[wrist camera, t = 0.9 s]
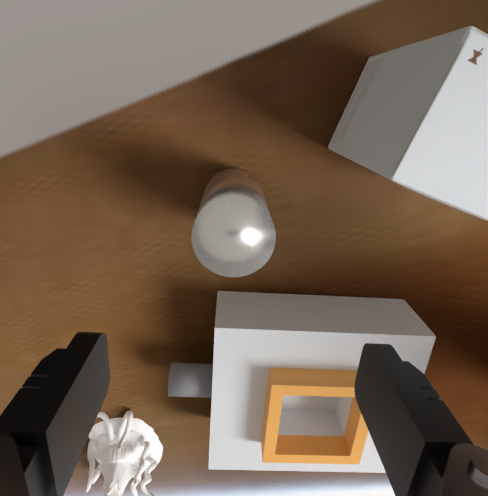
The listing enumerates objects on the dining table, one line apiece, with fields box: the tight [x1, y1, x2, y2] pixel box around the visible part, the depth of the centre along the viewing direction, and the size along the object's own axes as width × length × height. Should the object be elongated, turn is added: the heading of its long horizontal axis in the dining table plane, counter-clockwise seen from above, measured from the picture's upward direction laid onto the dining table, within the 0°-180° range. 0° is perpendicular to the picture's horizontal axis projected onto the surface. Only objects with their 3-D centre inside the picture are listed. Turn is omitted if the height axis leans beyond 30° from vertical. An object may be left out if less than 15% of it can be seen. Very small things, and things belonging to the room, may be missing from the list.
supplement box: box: [328, 26, 488, 221], centre depth 23 cm, size 7×7×13 cm
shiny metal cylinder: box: [191, 168, 276, 277], centre depth 26 cm, size 5×5×10 cm
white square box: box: [168, 291, 436, 473], centre depth 33 cm, size 22×16×8 cm
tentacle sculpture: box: [86, 410, 163, 496], centre depth 37 cm, size 9×12×9 cm
